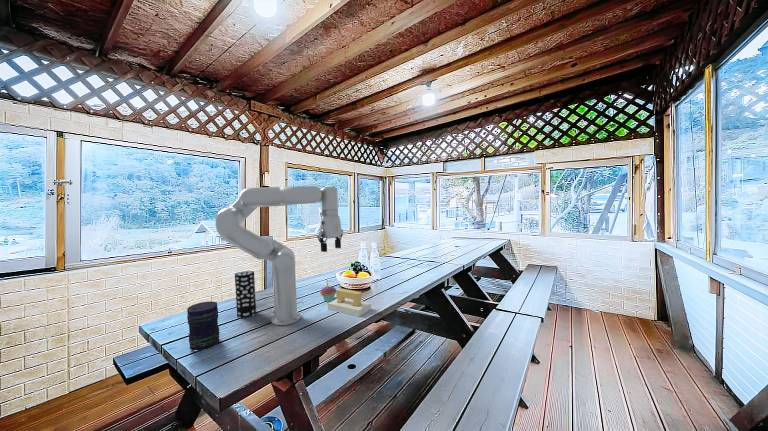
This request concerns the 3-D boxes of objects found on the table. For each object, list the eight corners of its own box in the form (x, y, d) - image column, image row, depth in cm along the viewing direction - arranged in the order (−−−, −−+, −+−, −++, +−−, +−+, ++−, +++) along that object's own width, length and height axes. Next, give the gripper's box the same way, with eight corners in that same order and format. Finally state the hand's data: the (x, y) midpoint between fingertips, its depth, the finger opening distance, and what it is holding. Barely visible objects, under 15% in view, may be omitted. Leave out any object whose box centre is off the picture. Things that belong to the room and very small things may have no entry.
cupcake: (334, 302, 148) (334, 280, 147) (318, 303, 148) (317, 280, 147) (337, 296, 157) (337, 275, 156) (322, 297, 157) (321, 275, 156)
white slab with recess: (327, 309, 140) (327, 303, 139) (340, 302, 148) (340, 296, 148) (359, 316, 130) (358, 310, 130) (371, 309, 138) (370, 303, 138)
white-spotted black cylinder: (232, 316, 133) (230, 274, 132) (247, 310, 141) (245, 270, 140) (246, 319, 130) (243, 276, 129) (260, 312, 138) (258, 271, 137)
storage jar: (214, 335, 115) (211, 299, 114) (224, 342, 109) (222, 304, 108) (185, 345, 107) (182, 307, 106) (194, 354, 101) (191, 313, 100)
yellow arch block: (336, 308, 141) (336, 290, 140) (341, 305, 144) (340, 288, 143) (357, 312, 134) (357, 294, 134) (361, 310, 137) (361, 292, 136)
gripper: (323, 214, 123) (324, 253, 124) (347, 212, 137) (349, 247, 139) (310, 214, 127) (312, 252, 128) (336, 212, 141) (337, 246, 142)
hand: (331, 249), depth 133 cm, fingers open, 9 cm apart
